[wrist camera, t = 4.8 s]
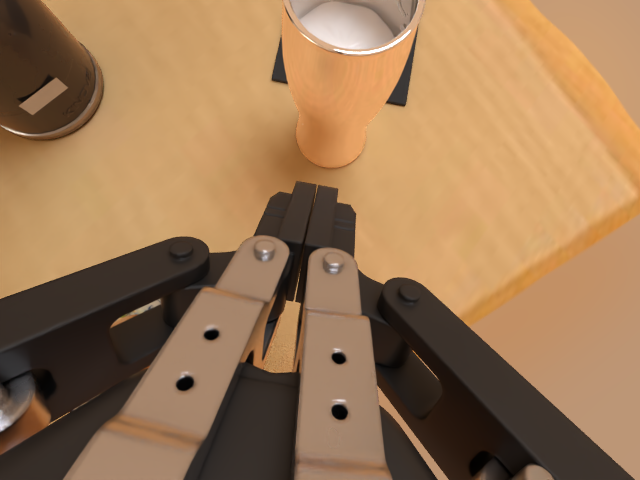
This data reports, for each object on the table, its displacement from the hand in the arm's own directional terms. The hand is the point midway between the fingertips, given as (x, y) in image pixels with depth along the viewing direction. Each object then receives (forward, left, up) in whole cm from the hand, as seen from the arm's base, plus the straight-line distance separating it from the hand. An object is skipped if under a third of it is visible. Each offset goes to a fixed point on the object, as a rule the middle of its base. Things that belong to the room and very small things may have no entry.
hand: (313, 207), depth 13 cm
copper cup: (-2, +10, -17) cm, 20 cm away
